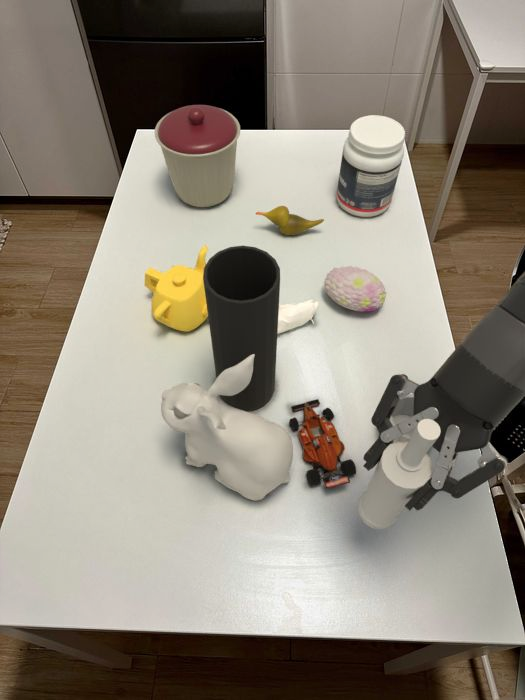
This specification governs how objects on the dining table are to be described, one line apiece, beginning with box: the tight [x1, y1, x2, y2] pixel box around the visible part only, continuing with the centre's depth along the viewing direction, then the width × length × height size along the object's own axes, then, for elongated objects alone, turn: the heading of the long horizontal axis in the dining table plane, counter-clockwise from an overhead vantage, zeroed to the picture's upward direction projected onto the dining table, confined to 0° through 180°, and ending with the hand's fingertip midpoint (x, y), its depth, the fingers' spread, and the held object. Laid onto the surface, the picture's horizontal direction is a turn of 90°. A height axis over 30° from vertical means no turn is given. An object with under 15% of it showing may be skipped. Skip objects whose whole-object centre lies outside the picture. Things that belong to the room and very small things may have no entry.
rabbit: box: [160, 354, 294, 501], centre depth 75 cm, size 12×21×25 cm, turn 67°
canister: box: [154, 104, 241, 208], centre depth 114 cm, size 18×18×21 cm
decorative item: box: [323, 265, 387, 313], centre depth 101 cm, size 9×11×10 cm
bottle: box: [357, 419, 441, 530], centre depth 56 cm, size 5×5×25 cm
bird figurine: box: [277, 298, 320, 335], centre depth 98 cm, size 5×7×10 cm
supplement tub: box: [335, 114, 406, 218], centre depth 113 cm, size 13×13×18 cm
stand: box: [390, 393, 415, 443], centre depth 85 cm, size 8×8×7 cm
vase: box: [203, 245, 281, 412], centre depth 80 cm, size 10×10×30 cm
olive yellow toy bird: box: [255, 205, 325, 236], centre depth 112 cm, size 4×15×6 cm, turn 86°
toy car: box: [289, 398, 357, 490], centre depth 85 cm, size 8×16×4 cm, turn 15°
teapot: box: [144, 245, 209, 332], centre depth 98 cm, size 14×13×10 cm
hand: (388, 486), depth 55 cm, fingers closed on bottle, 5 cm apart
